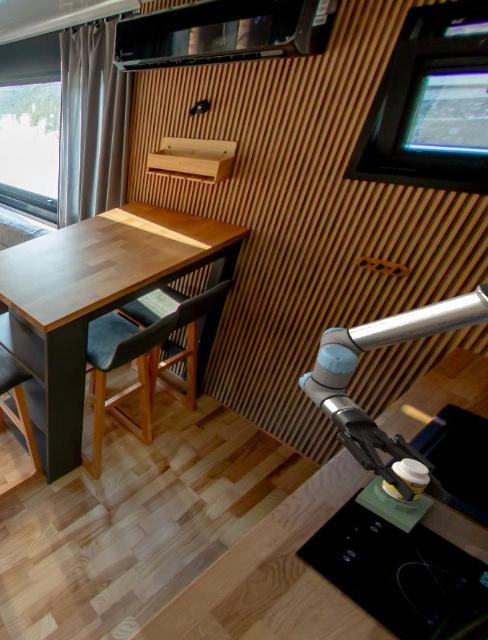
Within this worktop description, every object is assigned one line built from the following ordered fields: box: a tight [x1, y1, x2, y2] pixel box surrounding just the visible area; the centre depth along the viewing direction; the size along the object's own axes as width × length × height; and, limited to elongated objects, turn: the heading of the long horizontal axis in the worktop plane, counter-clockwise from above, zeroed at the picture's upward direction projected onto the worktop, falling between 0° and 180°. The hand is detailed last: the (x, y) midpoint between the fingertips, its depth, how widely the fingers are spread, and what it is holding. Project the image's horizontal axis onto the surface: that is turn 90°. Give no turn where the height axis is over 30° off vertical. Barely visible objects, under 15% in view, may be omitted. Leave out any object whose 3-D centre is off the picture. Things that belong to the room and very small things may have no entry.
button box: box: [354, 475, 435, 534], centre depth 88 cm, size 12×9×4 cm
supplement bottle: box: [382, 459, 430, 503], centre depth 85 cm, size 6×6×10 cm
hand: (429, 498), depth 80 cm, fingers closed on supplement bottle, 6 cm apart
